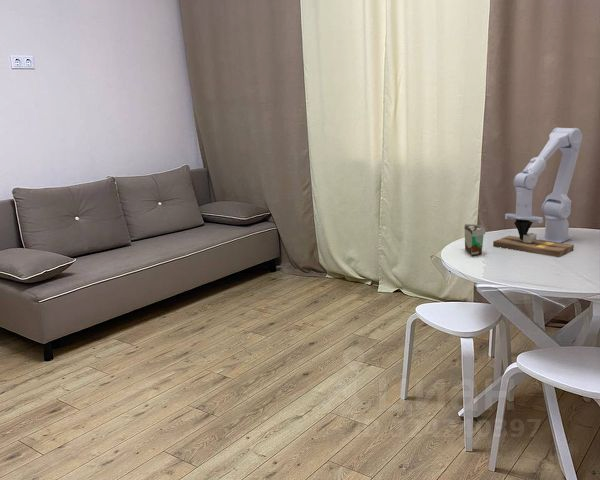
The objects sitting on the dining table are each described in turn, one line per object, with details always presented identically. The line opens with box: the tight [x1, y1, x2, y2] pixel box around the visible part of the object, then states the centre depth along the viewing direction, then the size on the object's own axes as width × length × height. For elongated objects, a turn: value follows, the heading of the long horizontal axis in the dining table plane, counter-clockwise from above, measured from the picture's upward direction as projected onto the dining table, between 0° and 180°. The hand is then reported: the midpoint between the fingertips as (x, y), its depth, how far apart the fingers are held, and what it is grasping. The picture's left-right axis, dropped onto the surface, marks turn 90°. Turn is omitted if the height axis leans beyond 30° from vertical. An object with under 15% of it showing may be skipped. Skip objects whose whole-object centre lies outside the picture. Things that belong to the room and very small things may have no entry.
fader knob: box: [523, 232, 537, 243], centre depth 228 cm, size 4×3×3 cm
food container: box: [463, 223, 486, 257], centre depth 224 cm, size 12×6×10 cm, turn 179°
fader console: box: [492, 235, 575, 258], centre depth 227 cm, size 12×26×2 cm, turn 42°
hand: (522, 239), depth 230 cm, fingers closed
